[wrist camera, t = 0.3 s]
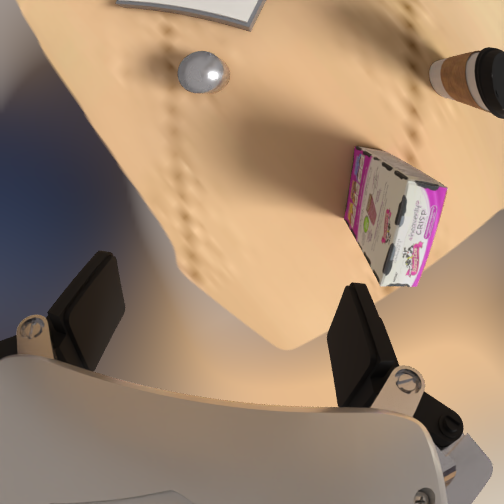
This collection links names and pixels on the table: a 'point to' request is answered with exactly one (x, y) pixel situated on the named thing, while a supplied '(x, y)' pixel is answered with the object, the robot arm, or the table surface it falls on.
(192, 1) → the scale
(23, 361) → the robot arm
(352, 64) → the table surface
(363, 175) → the candy bar box
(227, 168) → the table surface
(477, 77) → the coffee cup
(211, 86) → the cylinder
